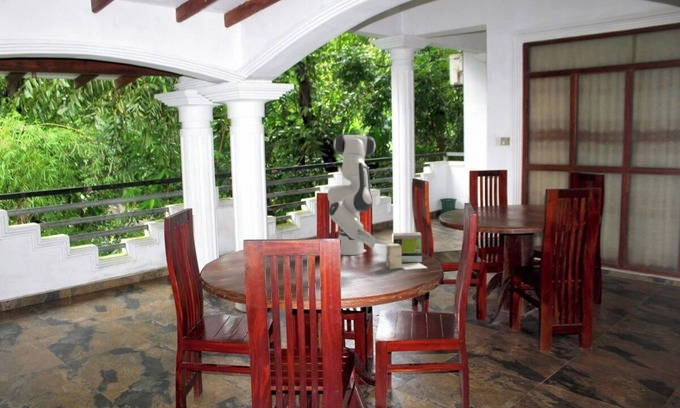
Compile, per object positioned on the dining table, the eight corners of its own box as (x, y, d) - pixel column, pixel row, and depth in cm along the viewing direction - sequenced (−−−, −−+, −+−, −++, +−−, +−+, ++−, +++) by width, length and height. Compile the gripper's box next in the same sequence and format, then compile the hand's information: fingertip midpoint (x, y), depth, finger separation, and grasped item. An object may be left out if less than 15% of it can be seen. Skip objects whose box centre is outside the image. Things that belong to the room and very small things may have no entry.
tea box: (421, 258, 322) (421, 231, 320) (421, 263, 312) (422, 235, 310) (393, 258, 323) (393, 231, 321) (393, 262, 313) (393, 235, 311)
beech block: (386, 267, 303) (386, 244, 302) (397, 266, 305) (397, 243, 303) (390, 270, 297) (390, 246, 296) (401, 269, 299) (401, 245, 297)
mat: (397, 265, 307) (397, 264, 307) (419, 263, 310) (419, 262, 310) (405, 270, 297) (405, 269, 297) (427, 268, 300) (427, 267, 300)
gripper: (368, 227, 280) (386, 245, 285) (349, 221, 299) (366, 238, 304) (359, 237, 279) (378, 255, 284) (341, 230, 297) (359, 247, 303)
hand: (372, 246), depth 294 cm, fingers closed
